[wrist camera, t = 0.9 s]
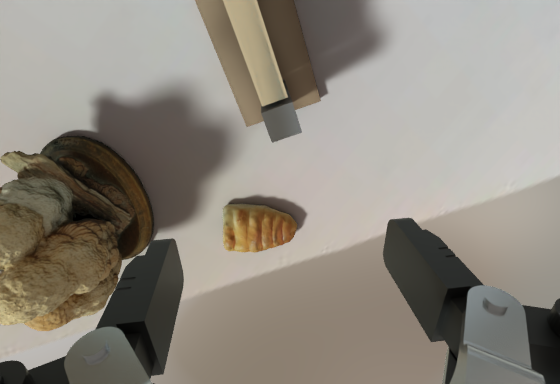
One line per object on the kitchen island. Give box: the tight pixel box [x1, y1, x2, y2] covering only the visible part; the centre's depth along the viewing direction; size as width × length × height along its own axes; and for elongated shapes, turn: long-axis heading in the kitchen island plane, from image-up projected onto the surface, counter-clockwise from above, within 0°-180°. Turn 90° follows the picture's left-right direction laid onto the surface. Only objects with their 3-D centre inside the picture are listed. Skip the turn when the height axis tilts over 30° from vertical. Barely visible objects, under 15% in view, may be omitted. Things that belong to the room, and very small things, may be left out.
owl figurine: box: [0, 136, 154, 331], centre depth 29 cm, size 18×12×17 cm, turn 9°
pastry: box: [222, 204, 297, 252], centre depth 38 cm, size 9×7×4 cm
